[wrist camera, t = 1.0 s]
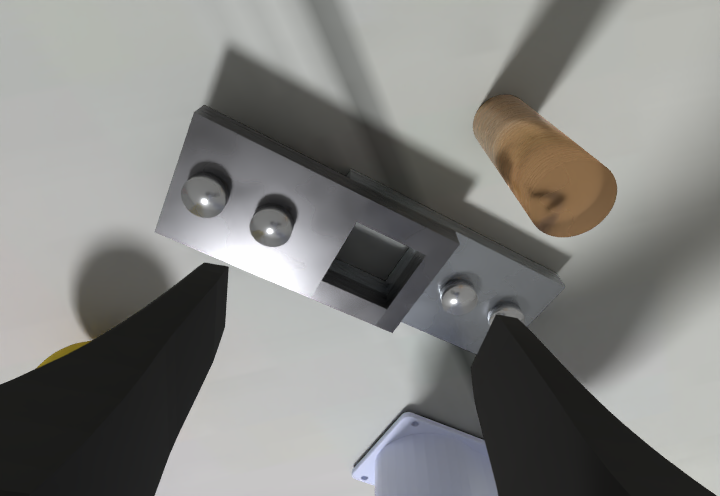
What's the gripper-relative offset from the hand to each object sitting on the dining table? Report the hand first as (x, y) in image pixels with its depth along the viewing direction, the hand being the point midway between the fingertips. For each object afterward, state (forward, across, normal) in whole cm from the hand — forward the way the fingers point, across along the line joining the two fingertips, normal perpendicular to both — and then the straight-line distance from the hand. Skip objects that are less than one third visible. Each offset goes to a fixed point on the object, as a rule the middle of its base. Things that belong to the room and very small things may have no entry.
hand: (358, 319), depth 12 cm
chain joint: (+10, -1, +4) cm, 11 cm away
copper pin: (+10, -5, -4) cm, 12 cm away
